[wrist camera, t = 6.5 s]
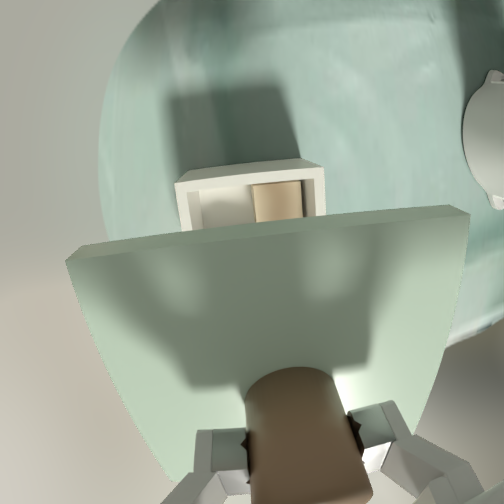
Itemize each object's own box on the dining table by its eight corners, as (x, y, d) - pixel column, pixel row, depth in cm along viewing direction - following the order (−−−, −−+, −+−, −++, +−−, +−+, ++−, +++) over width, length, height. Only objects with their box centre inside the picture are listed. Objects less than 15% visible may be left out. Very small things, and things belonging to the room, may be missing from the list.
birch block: (291, 175, 30) (300, 181, 26) (294, 214, 31) (303, 226, 28) (250, 179, 30) (252, 185, 26) (254, 219, 31) (257, 231, 27)
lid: (430, 196, 10) (576, 272, 4) (392, 415, 15) (436, 511, 8) (95, 233, 10) (-27, 355, 4) (175, 445, 14) (164, 555, 8)
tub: (301, 158, 30) (323, 167, 23) (306, 261, 34) (326, 297, 27) (188, 170, 30) (174, 183, 22) (204, 273, 34) (198, 313, 26)
